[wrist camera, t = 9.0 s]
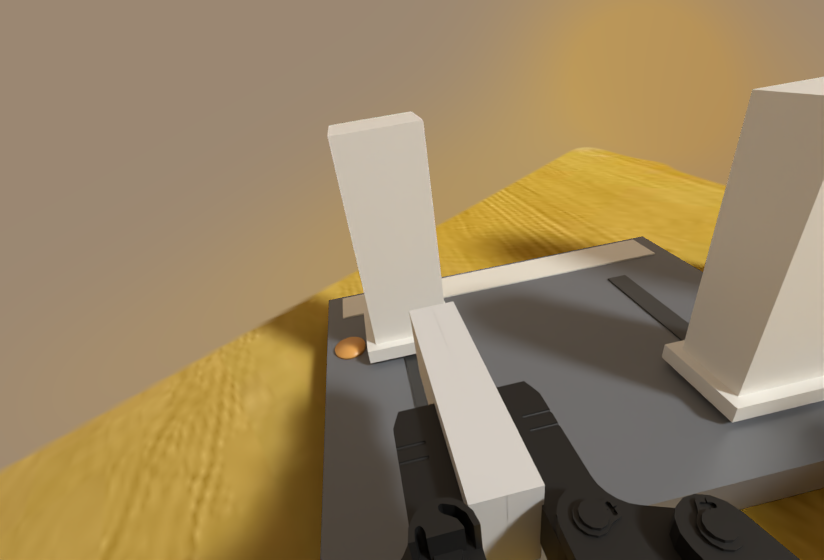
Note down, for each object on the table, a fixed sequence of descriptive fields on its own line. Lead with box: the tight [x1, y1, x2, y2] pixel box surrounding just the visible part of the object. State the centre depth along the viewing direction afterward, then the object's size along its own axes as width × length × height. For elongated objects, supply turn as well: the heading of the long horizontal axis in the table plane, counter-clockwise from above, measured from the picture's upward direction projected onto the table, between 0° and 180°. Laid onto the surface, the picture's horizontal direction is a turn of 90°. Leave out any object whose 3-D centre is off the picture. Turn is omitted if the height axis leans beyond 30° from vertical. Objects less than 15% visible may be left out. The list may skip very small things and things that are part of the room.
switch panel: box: [320, 237, 824, 560], centre depth 22 cm, size 24×18×2 cm
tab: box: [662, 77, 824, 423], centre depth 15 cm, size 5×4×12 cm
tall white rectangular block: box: [328, 112, 445, 363], centre depth 21 cm, size 5×4×12 cm
